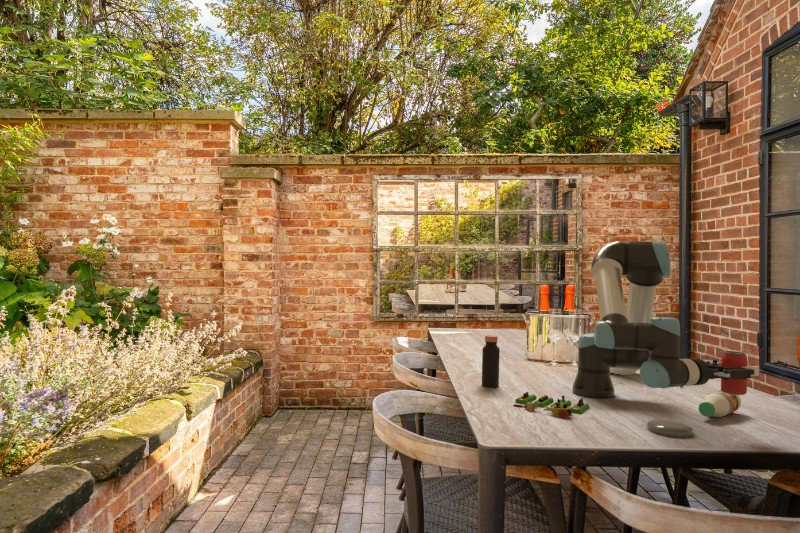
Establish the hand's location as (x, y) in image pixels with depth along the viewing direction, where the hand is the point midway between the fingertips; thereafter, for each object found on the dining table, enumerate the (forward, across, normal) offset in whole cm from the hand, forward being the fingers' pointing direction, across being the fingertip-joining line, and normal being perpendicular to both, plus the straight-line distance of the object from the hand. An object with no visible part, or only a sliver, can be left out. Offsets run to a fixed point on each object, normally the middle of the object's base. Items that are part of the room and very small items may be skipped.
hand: (745, 368), depth 160 cm
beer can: (-5, 0, -7) cm, 9 cm away
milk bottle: (+18, -18, -15) cm, 30 cm away
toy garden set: (-41, -40, -20) cm, 61 cm away
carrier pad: (-22, -7, -19) cm, 30 cm away
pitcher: (+35, -81, -19) cm, 90 cm away
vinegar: (-43, -75, -19) cm, 89 cm away
